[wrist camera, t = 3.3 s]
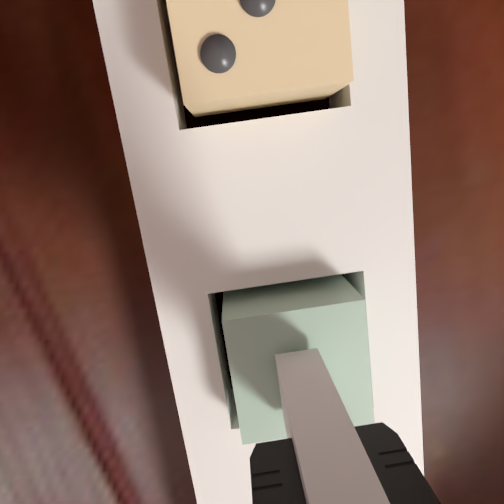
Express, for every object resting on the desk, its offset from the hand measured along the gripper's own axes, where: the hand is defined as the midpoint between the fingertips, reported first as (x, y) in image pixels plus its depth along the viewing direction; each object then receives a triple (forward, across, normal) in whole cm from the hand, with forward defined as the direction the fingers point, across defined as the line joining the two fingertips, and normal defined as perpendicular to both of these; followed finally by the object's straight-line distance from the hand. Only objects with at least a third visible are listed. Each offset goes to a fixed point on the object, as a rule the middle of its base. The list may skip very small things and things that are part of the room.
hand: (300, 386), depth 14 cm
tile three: (+3, 0, +12) cm, 13 cm away
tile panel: (+5, 0, 0) cm, 5 cm away
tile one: (+4, 0, 0) cm, 4 cm away
